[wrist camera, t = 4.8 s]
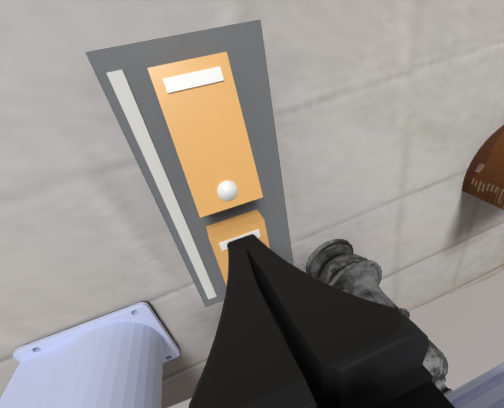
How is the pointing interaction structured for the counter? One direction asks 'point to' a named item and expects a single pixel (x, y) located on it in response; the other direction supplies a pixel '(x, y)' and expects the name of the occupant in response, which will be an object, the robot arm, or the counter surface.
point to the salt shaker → (366, 291)
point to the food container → (488, 171)
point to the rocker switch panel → (163, 149)
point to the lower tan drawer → (235, 235)
